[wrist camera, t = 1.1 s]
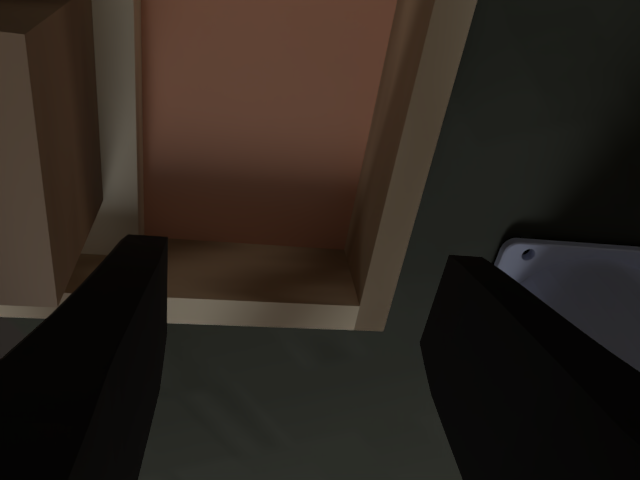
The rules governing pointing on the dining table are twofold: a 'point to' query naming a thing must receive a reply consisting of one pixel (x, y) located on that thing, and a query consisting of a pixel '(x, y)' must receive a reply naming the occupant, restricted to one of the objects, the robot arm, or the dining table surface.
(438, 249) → the dining table surface
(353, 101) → the frame
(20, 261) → the walnut block
